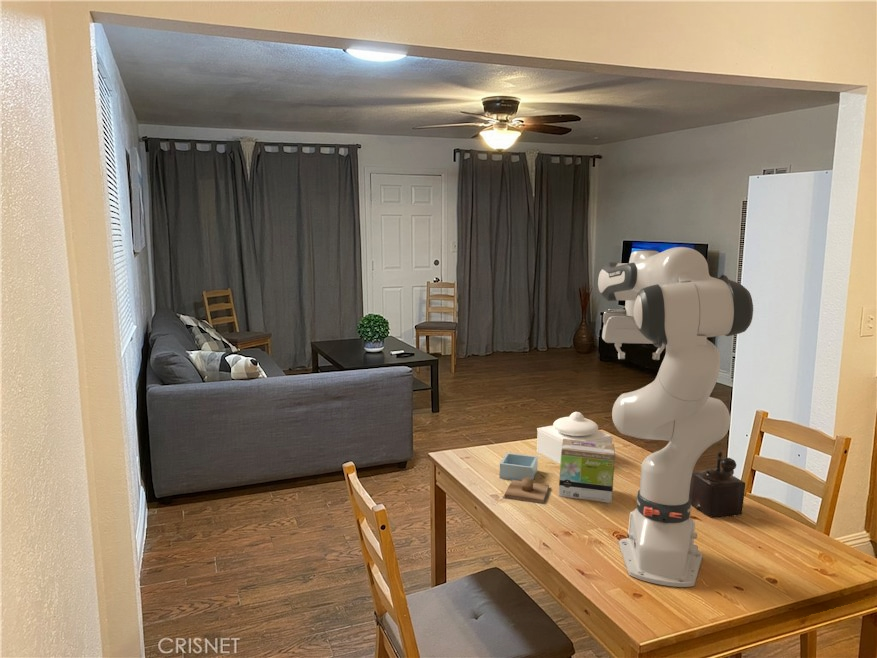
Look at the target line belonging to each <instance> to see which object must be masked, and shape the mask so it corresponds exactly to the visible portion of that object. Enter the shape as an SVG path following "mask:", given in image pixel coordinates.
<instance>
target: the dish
mask: <svg viewBox="0 0 877 658" xmlns="http://www.w3.org/2000/svg"><path fill="white" fill-rule="evenodd" d="M538 459H539V458H538V456H535V455H528V454H519V453H511V452H506V453H505V455H504V457H503V458H502V459H501V461H500V463H499V479H504V480H511V481H512V480H517V481H522V479H523V478H532V479H533V480H534V478H535V476H536V474H537V472H538V463H539V462H538Z"/></svg>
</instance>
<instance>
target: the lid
mask: <svg viewBox="0 0 877 658" xmlns="http://www.w3.org/2000/svg"><path fill="white" fill-rule="evenodd" d="M549 487H550V484H546V483H538V482H534V479H532V478H523V479H522V481H517V480H511V481H510V483H509V485H508V486H507V489H506V491H505V492H506V493H505V492H504V494H505V498H511V499H518V500H524V501H523V502H525V501H531V502H530V503H532V502H538V503H544V500H545V497H546V495H547V492H548V489H549ZM511 499H510V500H511ZM518 500H517V501H518ZM538 503H537V504H538Z"/></svg>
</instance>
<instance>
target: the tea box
mask: <svg viewBox="0 0 877 658" xmlns="http://www.w3.org/2000/svg"><path fill="white" fill-rule="evenodd" d="M615 462H616V449H615V443H612V444H609V443H600V442H590V441H581V440H571V439H563V444H562V451H561V464H560V465H559V466H560V468H559V478H558V479H559V481H558V482H559V483H558V496H559V497H563V498H571V499H572V498H573V499H580V500H589V501H595V502H596V501H597V502H601V503H606V504H612V501H613V491H614V490H613V489H614V475H615V474H614V473H615V464H616V463H615Z"/></svg>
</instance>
